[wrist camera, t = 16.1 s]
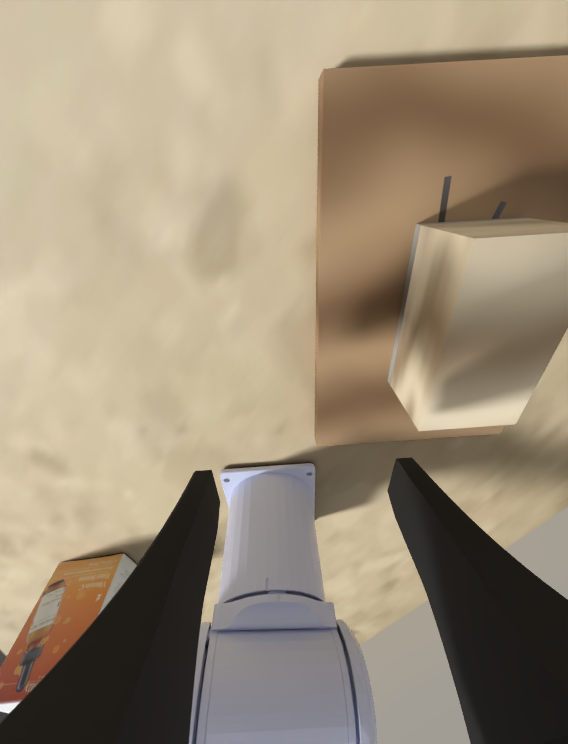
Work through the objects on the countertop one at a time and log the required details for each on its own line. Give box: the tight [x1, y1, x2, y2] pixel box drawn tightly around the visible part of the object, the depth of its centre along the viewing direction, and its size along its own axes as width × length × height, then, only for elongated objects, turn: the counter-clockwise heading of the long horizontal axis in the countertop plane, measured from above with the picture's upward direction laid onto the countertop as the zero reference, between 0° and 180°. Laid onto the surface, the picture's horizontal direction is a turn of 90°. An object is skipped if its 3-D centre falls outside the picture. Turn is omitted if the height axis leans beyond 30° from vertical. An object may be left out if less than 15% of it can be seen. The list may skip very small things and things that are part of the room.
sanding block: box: [388, 217, 568, 431], centre depth 14 cm, size 9×5×4 cm, turn 3°
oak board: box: [315, 55, 568, 447], centre depth 16 cm, size 20×14×1 cm
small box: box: [0, 554, 137, 713], centre depth 28 cm, size 8×6×10 cm
